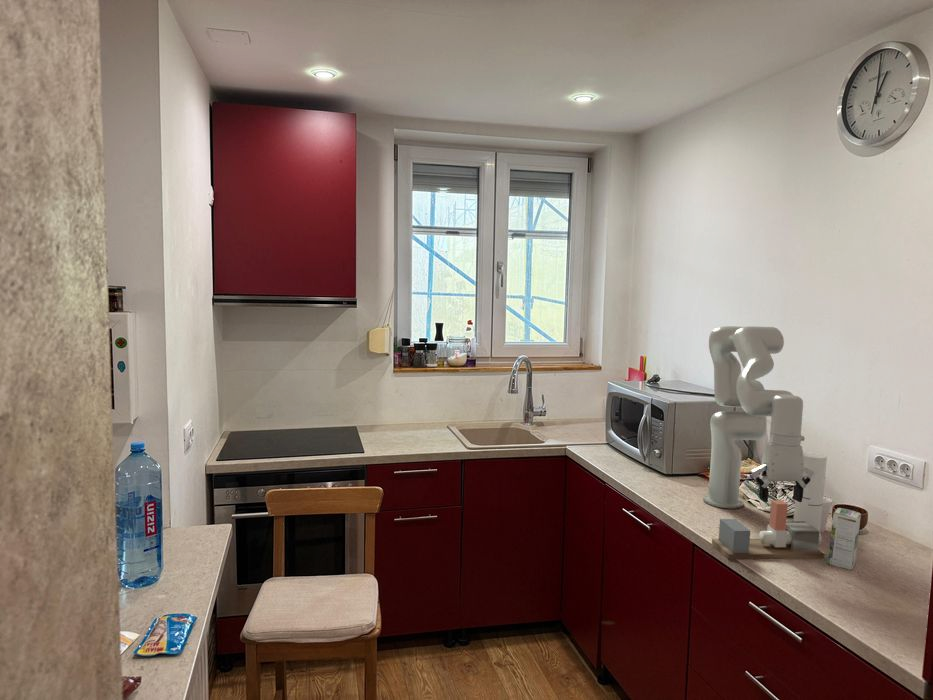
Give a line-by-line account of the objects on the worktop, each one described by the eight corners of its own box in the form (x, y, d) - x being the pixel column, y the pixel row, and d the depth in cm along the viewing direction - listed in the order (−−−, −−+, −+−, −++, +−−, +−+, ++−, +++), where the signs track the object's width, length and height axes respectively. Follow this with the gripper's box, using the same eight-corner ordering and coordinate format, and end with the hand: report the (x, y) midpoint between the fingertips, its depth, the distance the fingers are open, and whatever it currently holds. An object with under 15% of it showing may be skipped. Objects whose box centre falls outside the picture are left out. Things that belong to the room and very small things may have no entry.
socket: (718, 540, 179) (720, 518, 178) (733, 539, 179) (735, 518, 179) (732, 553, 171) (734, 530, 170) (748, 552, 171) (750, 530, 170)
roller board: (711, 543, 180) (713, 519, 179) (802, 543, 182) (804, 519, 181) (728, 559, 170) (730, 533, 169) (824, 559, 172) (826, 533, 171)
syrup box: (831, 557, 173) (836, 506, 171) (856, 563, 169) (861, 512, 167) (827, 564, 169) (832, 512, 167) (852, 571, 165) (858, 518, 163)
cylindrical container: (795, 529, 192) (802, 449, 189) (821, 535, 187) (829, 454, 184) (789, 536, 186) (796, 454, 183) (816, 543, 182) (824, 459, 179)
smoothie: (826, 526, 194) (830, 483, 193) (832, 534, 188) (836, 489, 187) (803, 524, 196) (807, 480, 194) (809, 532, 190) (813, 487, 188)
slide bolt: (757, 540, 178) (761, 499, 176) (812, 540, 179) (815, 499, 177) (766, 547, 173) (769, 505, 172) (822, 547, 174) (826, 505, 173)
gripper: (807, 437, 176) (802, 496, 178) (747, 436, 175) (743, 496, 177) (823, 443, 169) (818, 505, 170) (761, 443, 168) (757, 505, 169)
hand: (780, 500), depth 174 cm, fingers open, 9 cm apart
